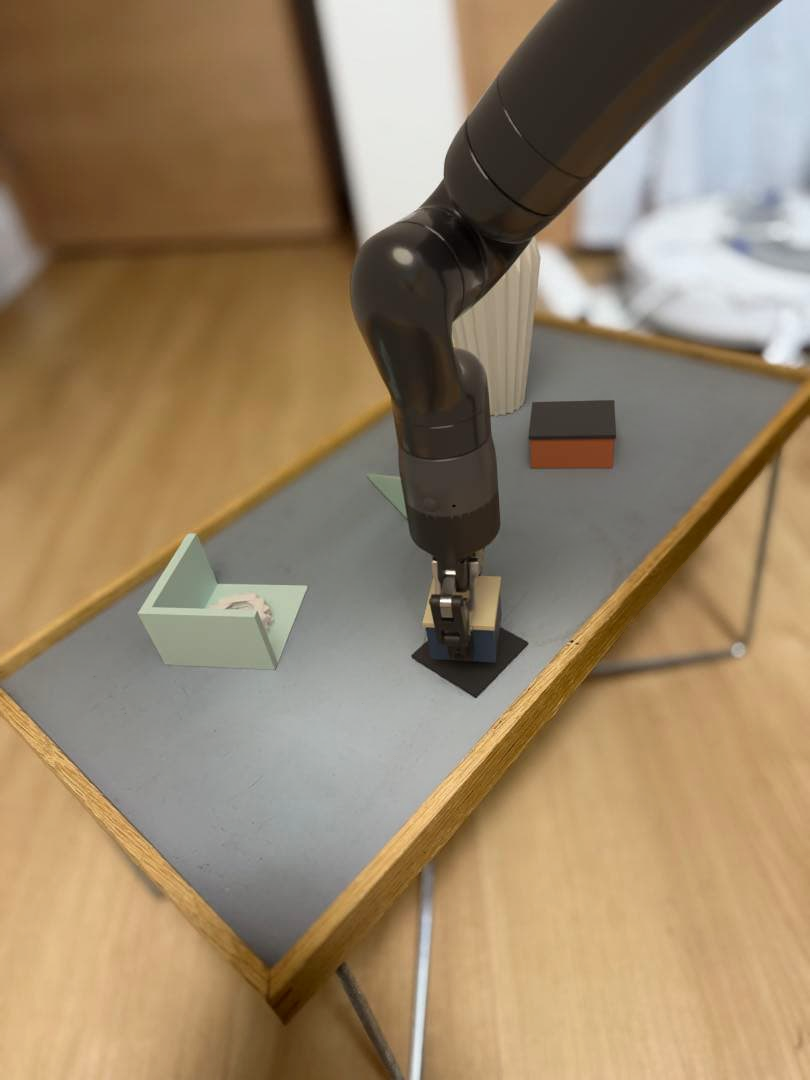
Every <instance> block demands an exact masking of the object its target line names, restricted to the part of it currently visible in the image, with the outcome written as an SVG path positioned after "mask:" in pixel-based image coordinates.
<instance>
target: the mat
mask: <svg viewBox="0 0 810 1080" xmlns="http://www.w3.org/2000/svg"><path fill="white" fill-rule="evenodd" d="M528 645H529V641H527V640H526V639H524V638H522V637H520V636H518V635H516V634H514V633H512V632H510V631H509V630H508V629H505V628H504V627H502V626H500V632H499V640H498V648H497V656H496V662H495V663H493V662H476V661H454V660H443V659H431V657H430V651H429V645H428V640H426V641H425V642H424V643H423V644H422V645H421V646H419V648H418V649H416V650H415V651H414V652H413V653H412V654H411V655H410V657H411V659H412V660H414V661H416V662H417V663H419V664H420V665H422V666H424V667H425V668H427V669H429V671H432V672H433V673H435V674H437V675H438V676H439V677H441V678H442V679H444V680H446V681H447V682H449V683H450V684H452V685H454V686H456V687H457V688H459V689H460V690H462V691H463V692H465V693H467V694H469V696H471V697H473V698H475V699H477V698H478V697H479V696H480V695H481V694H482V693H483V692H484V691H485V690H486V689H487V688H488V687H489V686H490V685H491V684H492V683H493V682H494V681H495V679H496V678H497V677H498V676H499V675H500V674H502V672H503V671H504V670H505V669H506V668H507V667H508V666H509V665H510V664H511V662H513V661H514V660H515V659H516V658H517V657H518V656H519V655H520V654H521V652H523V650H525V648H526V647H527V646H528Z"/></svg>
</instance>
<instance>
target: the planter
mask: <svg viewBox="0 0 810 1080" xmlns="http://www.w3.org/2000/svg"><path fill="white" fill-rule="evenodd" d="M366 477H367V479H369V481H370V482H372V484H373V485H374V486H375V488H377V489H378V490H379V491H380V492H381V494H383V496H385V497H386V499H387V500H388V501H389V502H390V504H392V505H393V506H394V508H395V509H396V510H398V512H399V513H400V514H401V515H402V516H403V517H404V518H405V519H406V520H407V514H406V508H405V502H404V496H403V490H402V484H401V478H400V476H395V475H385V474H378V473H377V474H376V473H366Z"/></svg>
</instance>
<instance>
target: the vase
mask: <svg viewBox="0 0 810 1080" xmlns="http://www.w3.org/2000/svg"><path fill="white" fill-rule="evenodd" d="M541 258H542V257H541V254H540V250H539V247H538V242H537V240H536V236H534V238H533V239H532V241H531V242H530V243H529V245H528V246H527V247H526V248H525V250H524V251H523V252H522V254H521V255H520V256H519V257H518V259H517V260H516V261H515V262H514V264H513V265H512V266H511V267H510V268H509V270H508V271H507V272H506V273H505V274H504V276H503V277H502V278H501V279H500V280H499V281H498V282H497V283H496V284H495V285H494V287H493V288H492V289H491V290H490V291H489V292H488V293H487V294H486V295H485V296H484V297H483V298H482V299H481V300H480V301H478V302H477V303H476V304H475V305H474V306H473V307H472V308H470V309H469V310H468V311H467V312H465V313H464V314H463V315H462V316H461V317H459V318H458V319H457V320H456V321H455V322H453V323H452V339H453V344H454V347H457V348H461V349H465V350H467V351H470V352H471V353H473V354H474V355H475V356H477V357H478V358H479V360H480V361H481V362H482V364H483V366H484V369H485V372H486V376H487V382H488V391H489V404H490V417H491V416H494V417H495V418H497V417H499V416H500V415H501V416H504V417H505V416H507V414H514V411H519V410H520V408H521V407H523V406H524V403H525V400H526V393H527V392H526V391H527V382H528V375H529V365H530V357H531V356H530V355H531V348H532V340H533V339H532V338H533V330H534V321H535V311H536V302H537V297H538V296H537V294H538V285H539V277H540V267H541V266H540V265H541V260H542V259H541Z"/></svg>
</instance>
